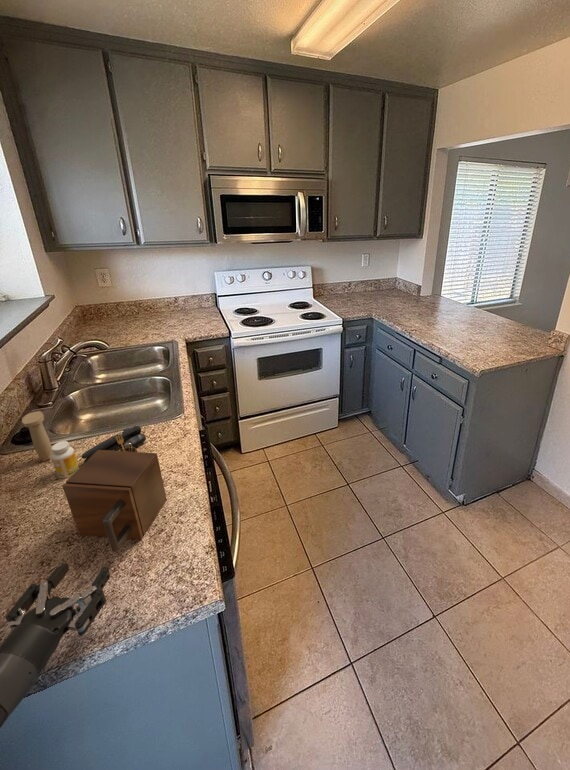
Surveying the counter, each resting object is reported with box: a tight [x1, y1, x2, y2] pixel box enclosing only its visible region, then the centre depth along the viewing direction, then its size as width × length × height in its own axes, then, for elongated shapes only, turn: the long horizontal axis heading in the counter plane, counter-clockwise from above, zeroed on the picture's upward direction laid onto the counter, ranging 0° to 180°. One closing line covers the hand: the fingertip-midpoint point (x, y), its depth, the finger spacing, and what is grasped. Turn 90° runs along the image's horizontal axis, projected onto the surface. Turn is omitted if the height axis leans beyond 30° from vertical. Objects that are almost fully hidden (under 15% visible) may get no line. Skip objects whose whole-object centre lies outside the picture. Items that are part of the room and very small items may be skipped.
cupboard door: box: [61, 482, 144, 553], centre depth 79 cm, size 6×16×15 cm, turn 85°
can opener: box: [80, 425, 147, 464], centre depth 112 cm, size 18×7×6 cm, turn 135°
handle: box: [21, 410, 53, 462], centre depth 107 cm, size 5×6×15 cm
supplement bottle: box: [51, 440, 80, 479], centre depth 103 cm, size 5×5×10 cm
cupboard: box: [65, 450, 168, 537], centre depth 88 cm, size 11×16×16 cm
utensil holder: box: [114, 431, 138, 452], centre depth 103 cm, size 6×6×12 cm
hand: (86, 567), depth 70 cm, fingers open, 8 cm apart
